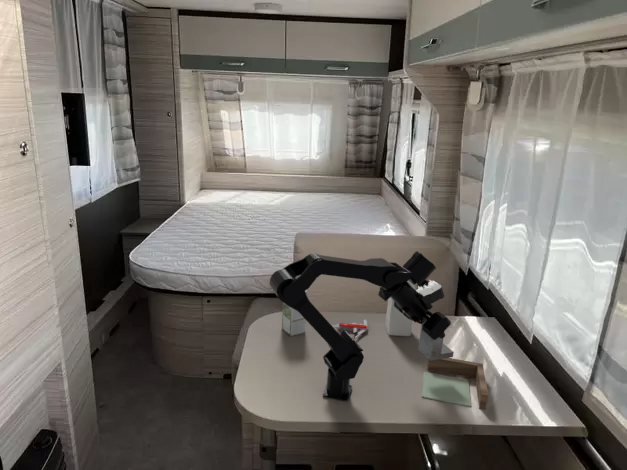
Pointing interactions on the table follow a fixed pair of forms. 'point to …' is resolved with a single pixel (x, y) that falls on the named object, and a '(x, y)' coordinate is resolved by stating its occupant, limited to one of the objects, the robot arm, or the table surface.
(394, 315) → the milk carton
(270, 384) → the table surface
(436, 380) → the mat
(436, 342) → the gray block
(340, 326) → the swiss army knife
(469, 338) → the table surface
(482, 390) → the brown wooden corner wall
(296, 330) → the syrup box
